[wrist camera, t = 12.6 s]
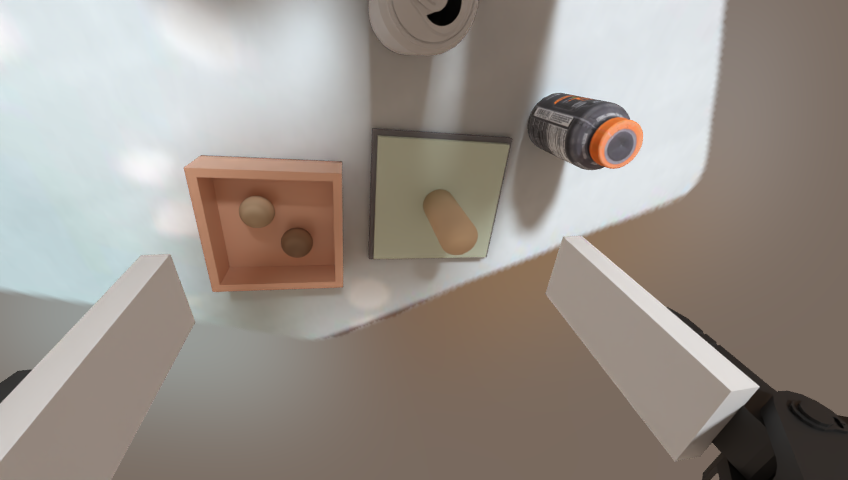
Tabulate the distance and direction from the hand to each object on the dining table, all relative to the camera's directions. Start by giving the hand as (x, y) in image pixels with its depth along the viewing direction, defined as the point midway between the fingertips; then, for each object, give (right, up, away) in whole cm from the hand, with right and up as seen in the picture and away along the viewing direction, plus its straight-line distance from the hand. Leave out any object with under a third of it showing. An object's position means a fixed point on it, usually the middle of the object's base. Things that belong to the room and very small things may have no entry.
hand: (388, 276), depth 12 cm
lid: (+3, +6, +27) cm, 27 cm away
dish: (-14, +4, +25) cm, 29 cm away
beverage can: (-1, +21, +18) cm, 28 cm away
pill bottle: (+15, +14, +26) cm, 33 cm away
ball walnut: (-12, +1, +24) cm, 27 cm away
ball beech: (-15, +4, +22) cm, 27 cm away
